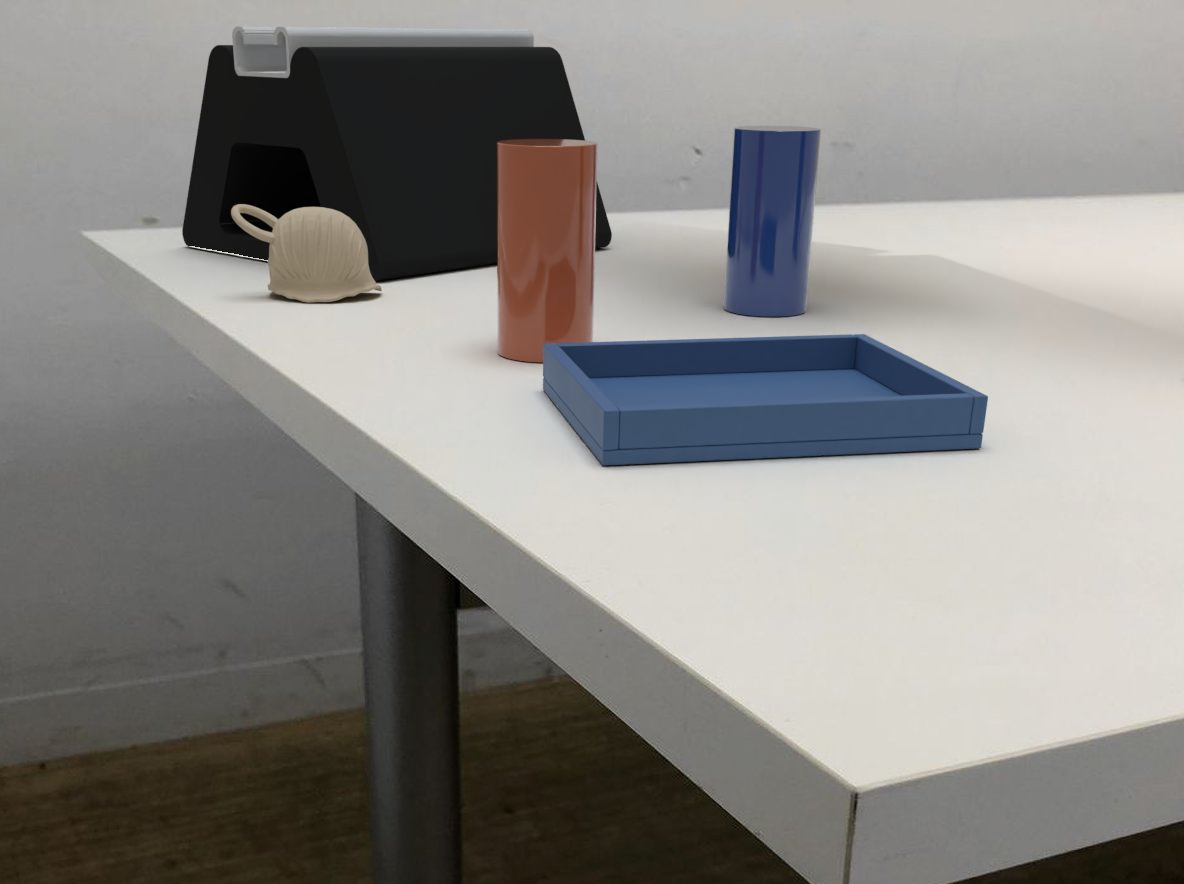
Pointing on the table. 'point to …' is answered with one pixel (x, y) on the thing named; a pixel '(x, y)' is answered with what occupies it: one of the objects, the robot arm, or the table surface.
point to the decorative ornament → (312, 253)
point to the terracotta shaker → (545, 244)
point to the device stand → (373, 137)
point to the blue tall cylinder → (771, 219)
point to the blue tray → (756, 399)
